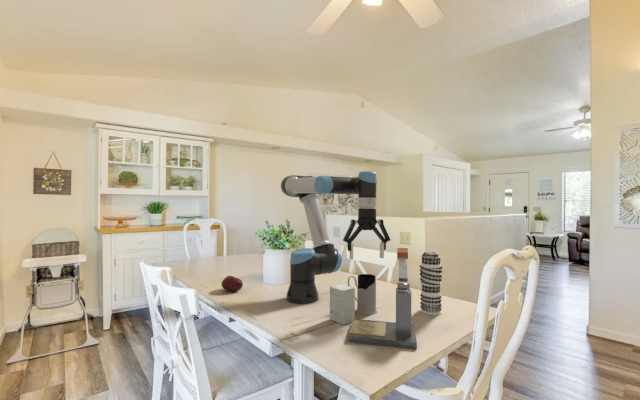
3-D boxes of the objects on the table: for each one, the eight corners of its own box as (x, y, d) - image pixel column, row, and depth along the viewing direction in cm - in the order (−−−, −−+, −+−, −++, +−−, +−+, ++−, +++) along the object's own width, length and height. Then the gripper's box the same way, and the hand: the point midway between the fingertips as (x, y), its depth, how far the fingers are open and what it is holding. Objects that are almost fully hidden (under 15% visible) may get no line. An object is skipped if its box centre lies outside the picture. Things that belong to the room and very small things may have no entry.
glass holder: (369, 316, 131) (369, 279, 131) (342, 308, 141) (342, 274, 141) (380, 311, 137) (381, 275, 138) (354, 303, 147) (354, 271, 147)
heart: (226, 293, 159) (244, 292, 166) (228, 278, 160) (245, 277, 167) (215, 289, 168) (233, 288, 175) (217, 274, 169) (234, 274, 176)
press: (347, 342, 107) (347, 293, 107) (353, 324, 123) (354, 282, 123) (416, 349, 102) (416, 298, 102) (414, 329, 118) (414, 285, 118)
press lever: (397, 290, 111) (397, 282, 109) (397, 255, 130) (397, 247, 129) (409, 291, 110) (409, 283, 108) (407, 255, 129) (407, 248, 128)
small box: (355, 321, 126) (355, 287, 126) (343, 325, 122) (343, 290, 122) (340, 315, 132) (341, 283, 132) (329, 319, 128) (329, 286, 128)
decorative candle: (439, 316, 131) (440, 255, 131) (416, 312, 136) (417, 253, 136) (444, 310, 139) (444, 252, 139) (422, 306, 144) (422, 250, 144)
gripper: (341, 208, 130) (340, 260, 130) (398, 208, 136) (397, 258, 136) (336, 207, 138) (335, 257, 138) (390, 207, 143) (390, 255, 143)
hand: (366, 258), depth 137 cm, fingers open, 13 cm apart
